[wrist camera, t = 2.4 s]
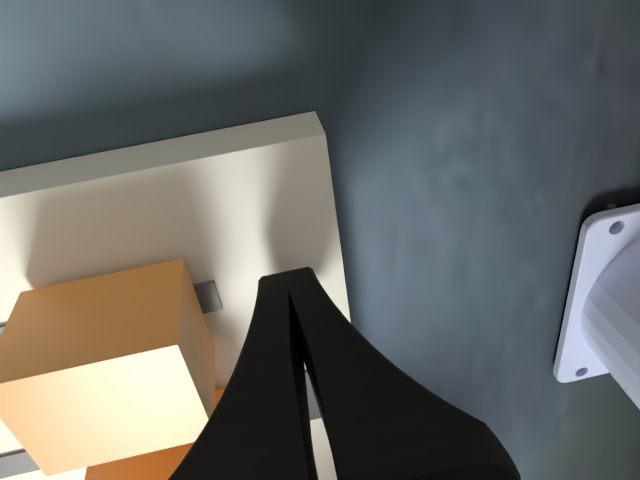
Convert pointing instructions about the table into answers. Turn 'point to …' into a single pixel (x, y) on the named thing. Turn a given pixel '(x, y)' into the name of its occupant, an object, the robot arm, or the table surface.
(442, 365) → the table surface
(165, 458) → the tab middle
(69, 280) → the switch board
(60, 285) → the orange block
